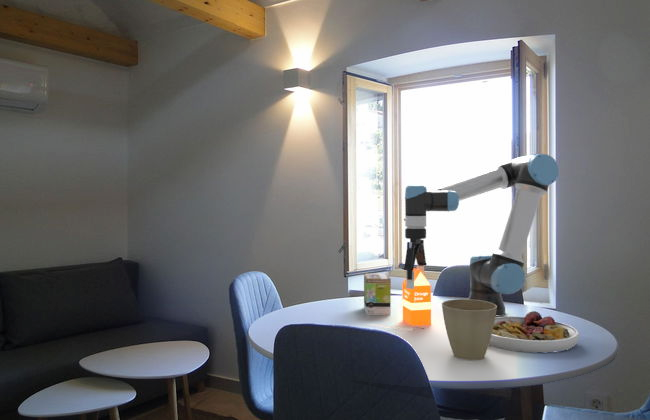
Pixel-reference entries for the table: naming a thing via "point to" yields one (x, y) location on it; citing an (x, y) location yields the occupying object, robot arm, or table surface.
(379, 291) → the tea box
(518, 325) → the plate of food
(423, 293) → the orange juice
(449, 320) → the plant pot
